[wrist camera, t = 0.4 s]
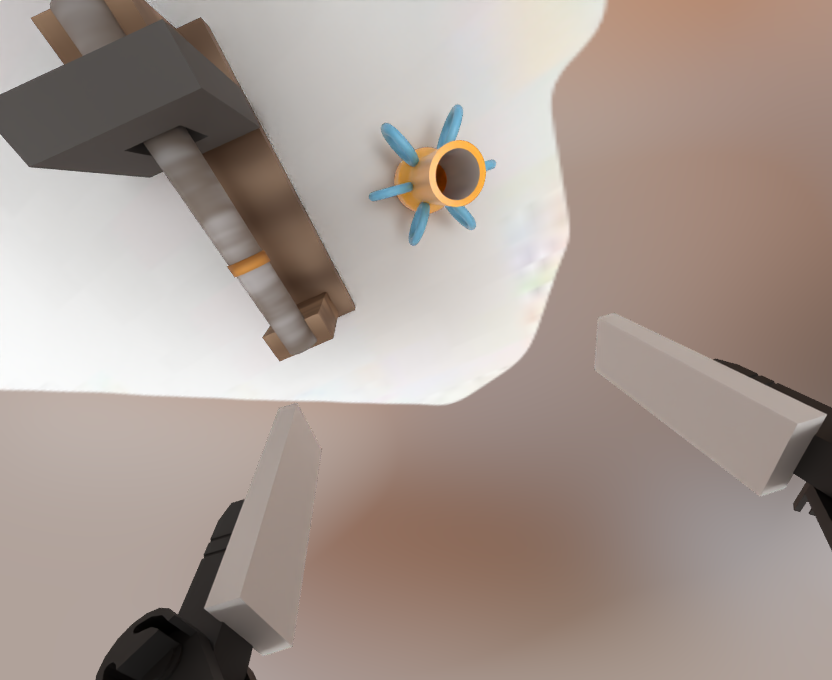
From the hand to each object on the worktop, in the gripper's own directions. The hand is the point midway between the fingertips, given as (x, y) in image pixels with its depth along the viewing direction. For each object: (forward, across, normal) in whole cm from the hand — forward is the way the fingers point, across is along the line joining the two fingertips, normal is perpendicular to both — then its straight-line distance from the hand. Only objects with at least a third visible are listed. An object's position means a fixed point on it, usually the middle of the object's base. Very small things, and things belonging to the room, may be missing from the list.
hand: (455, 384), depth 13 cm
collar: (+24, -14, +16) cm, 32 cm away
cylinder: (+28, +5, +7) cm, 29 cm away
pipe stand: (+27, -13, +9) cm, 32 cm away
